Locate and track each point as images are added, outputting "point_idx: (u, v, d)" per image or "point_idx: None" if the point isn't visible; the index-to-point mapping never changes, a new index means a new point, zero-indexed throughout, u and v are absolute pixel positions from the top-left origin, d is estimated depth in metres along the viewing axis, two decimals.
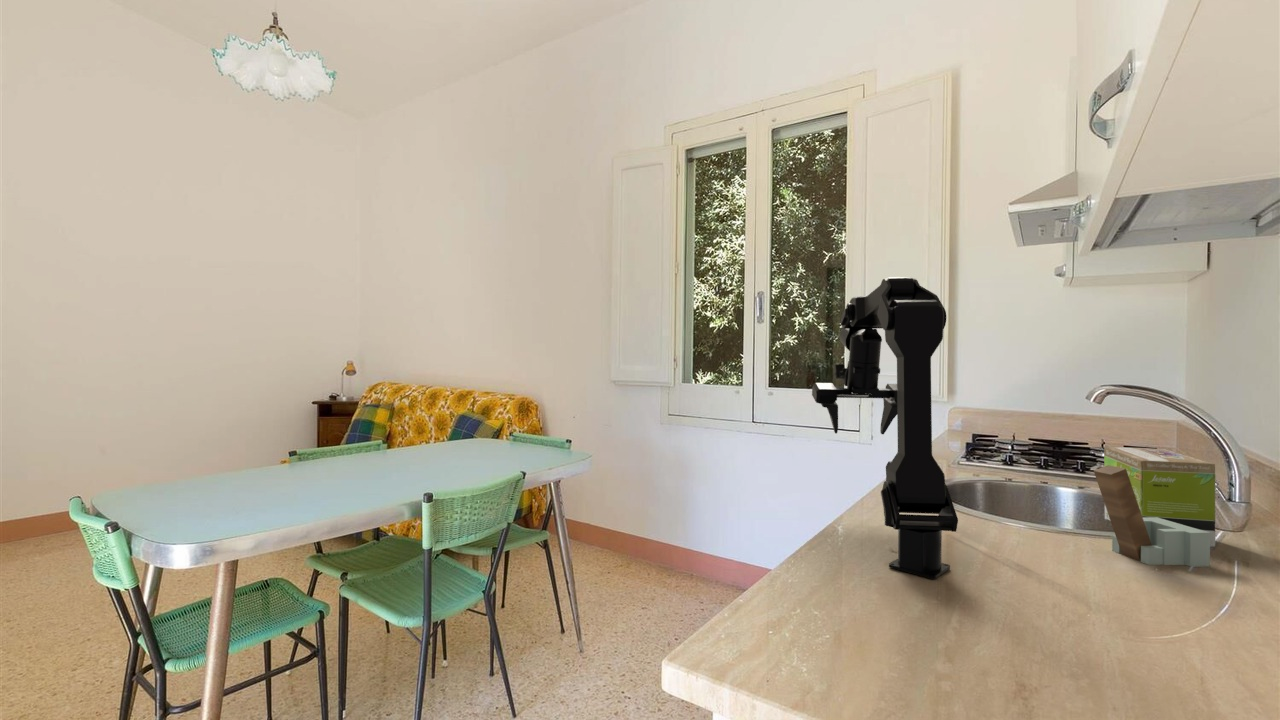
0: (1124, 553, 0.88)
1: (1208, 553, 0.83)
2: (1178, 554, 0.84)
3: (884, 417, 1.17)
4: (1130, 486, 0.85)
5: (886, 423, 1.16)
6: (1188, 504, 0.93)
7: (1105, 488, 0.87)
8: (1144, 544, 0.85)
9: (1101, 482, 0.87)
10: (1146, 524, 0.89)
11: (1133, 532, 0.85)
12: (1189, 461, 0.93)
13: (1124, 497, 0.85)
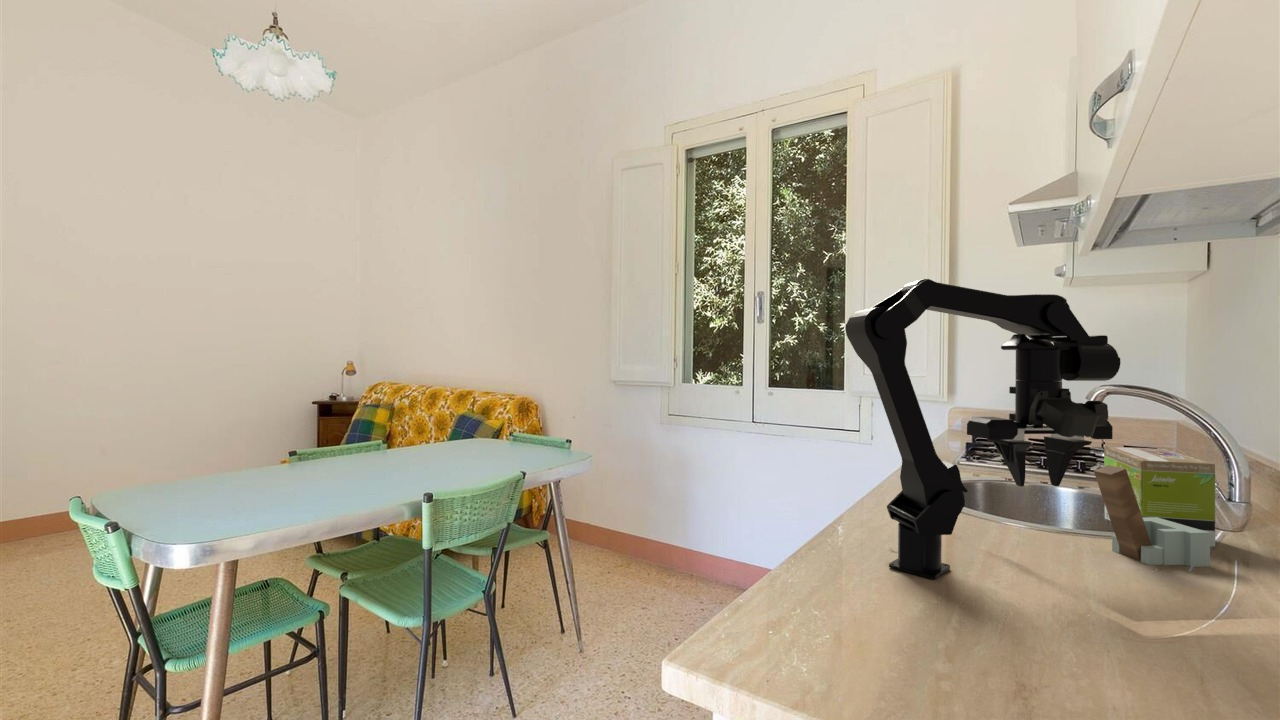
0: (1124, 553, 0.88)
1: (1208, 553, 0.83)
2: (1178, 554, 0.84)
3: None
4: (1130, 486, 0.85)
5: None
6: (1188, 504, 0.93)
7: (1105, 488, 0.87)
8: (1144, 544, 0.85)
9: (1101, 482, 0.87)
10: (1146, 524, 0.89)
11: (1133, 532, 0.85)
12: (1189, 461, 0.93)
13: (1124, 497, 0.85)
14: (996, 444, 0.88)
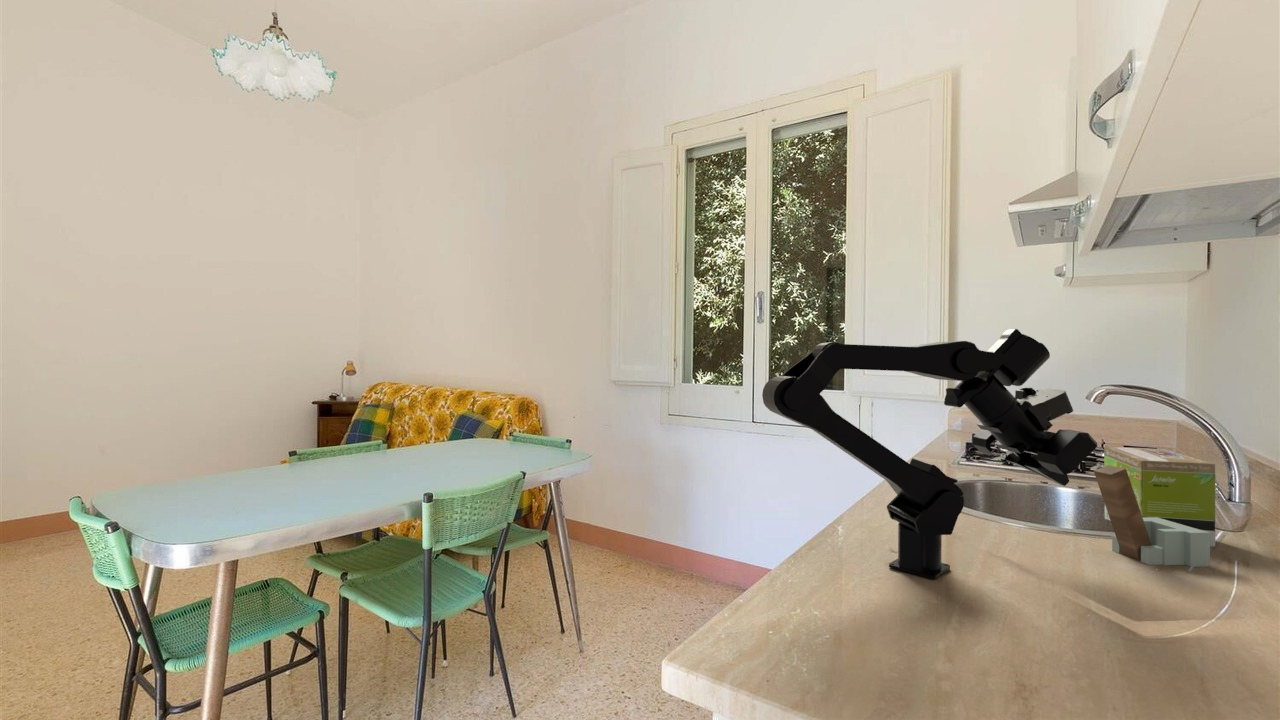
0: (1124, 553, 0.88)
1: (1208, 553, 0.83)
2: (1178, 554, 0.84)
3: None
4: (1130, 486, 0.85)
5: (1047, 477, 0.85)
6: (1188, 504, 0.93)
7: (1105, 488, 0.87)
8: (1144, 544, 0.85)
9: (1101, 482, 0.87)
10: (1146, 524, 0.89)
11: (1133, 532, 0.85)
12: (1189, 461, 0.93)
13: (1124, 497, 0.85)
14: None
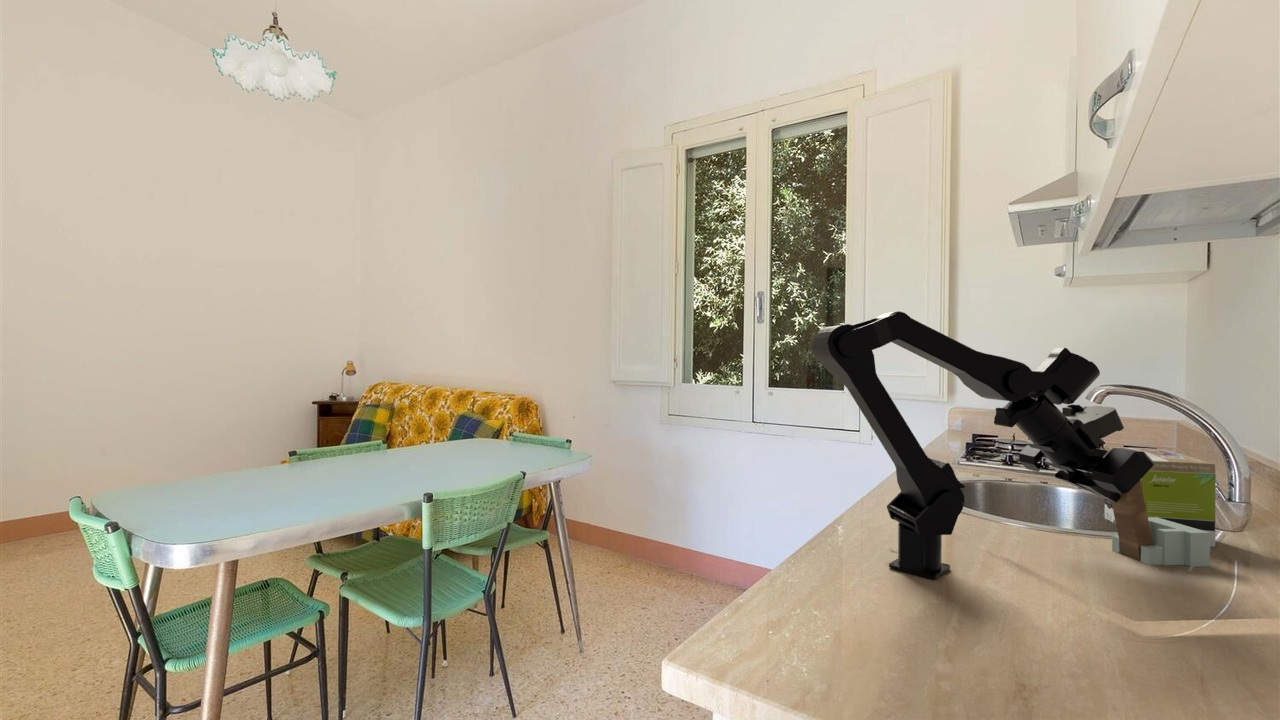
0: (1124, 552, 0.88)
1: (1208, 553, 0.83)
2: (1178, 554, 0.84)
3: None
4: (1139, 484, 0.85)
5: (1099, 494, 0.86)
6: (1188, 504, 0.93)
7: None
8: (1146, 544, 0.85)
9: None
10: None
11: (1137, 530, 0.85)
12: (1189, 461, 0.93)
13: (1132, 494, 0.85)
14: None
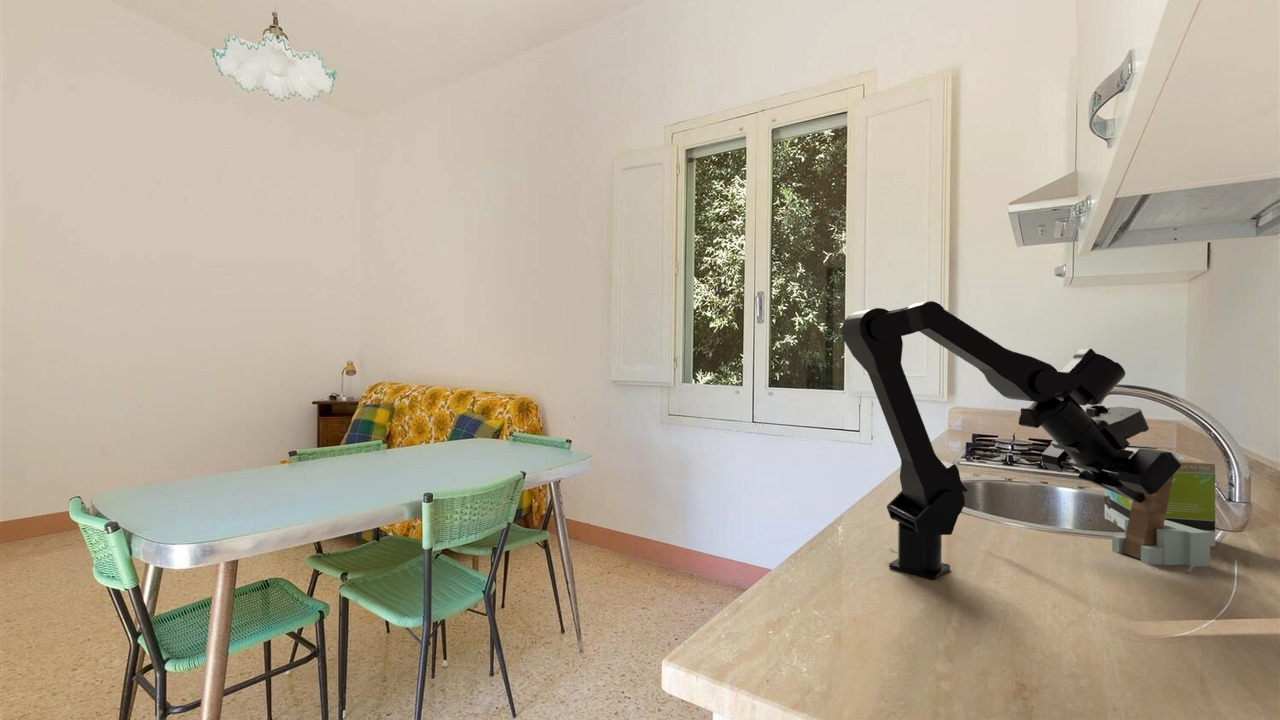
0: (1126, 548, 0.88)
1: (1208, 553, 0.83)
2: (1178, 554, 0.84)
3: None
4: (1169, 486, 0.85)
5: (1124, 495, 0.86)
6: (1188, 504, 0.93)
7: None
8: (1152, 544, 0.85)
9: None
10: None
11: (1150, 527, 0.85)
12: (1189, 461, 0.93)
13: (1159, 493, 0.85)
14: None
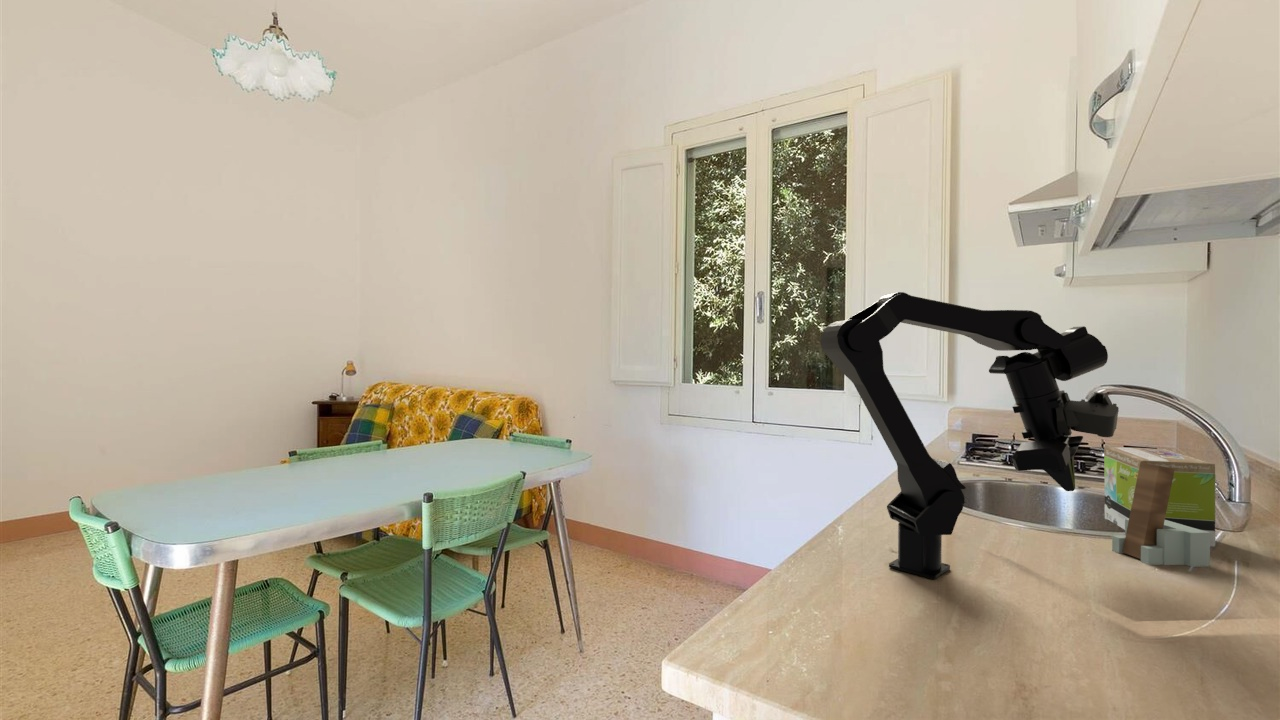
0: (1126, 548, 0.88)
1: (1208, 553, 0.83)
2: (1178, 554, 0.84)
3: None
4: (1169, 486, 0.85)
5: None
6: (1188, 504, 0.93)
7: (1144, 480, 0.87)
8: (1152, 544, 0.85)
9: (1142, 474, 0.87)
10: None
11: (1150, 527, 0.85)
12: (1189, 461, 0.93)
13: (1159, 493, 0.85)
14: None
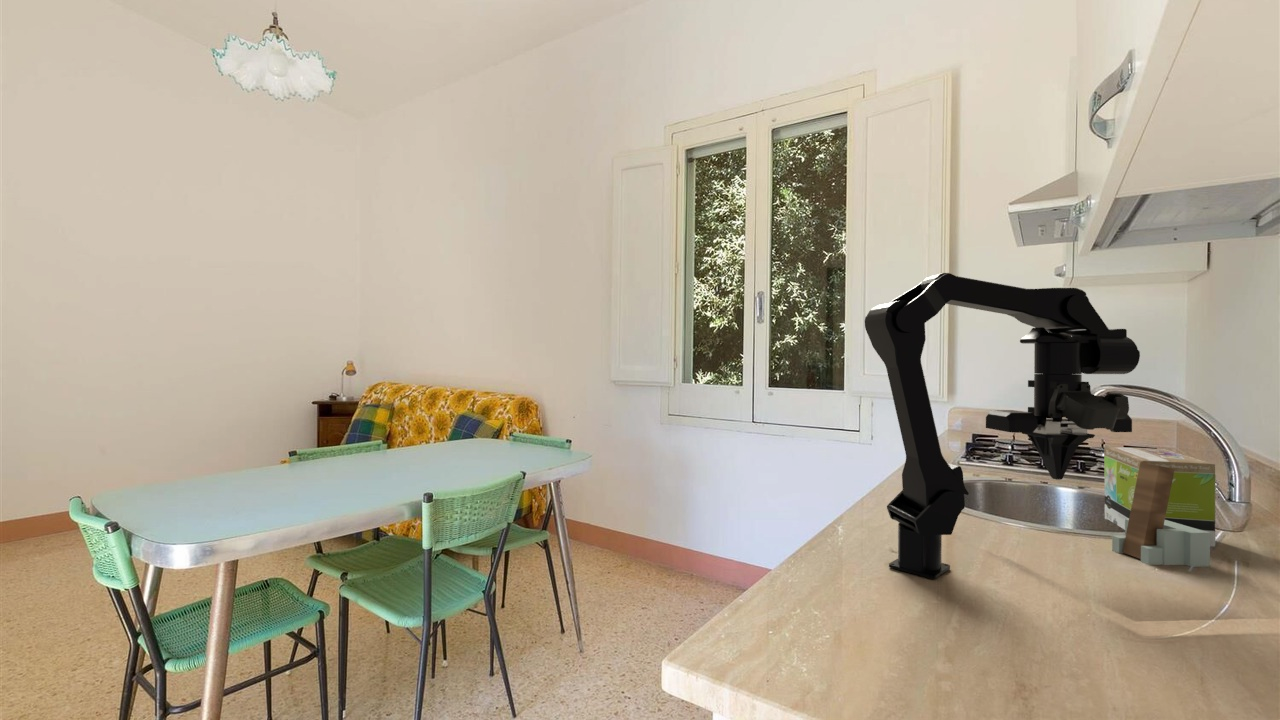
0: (1126, 548, 0.88)
1: (1208, 553, 0.83)
2: (1178, 554, 0.84)
3: None
4: (1169, 486, 0.85)
5: None
6: (1188, 504, 0.93)
7: (1144, 480, 0.87)
8: (1152, 544, 0.85)
9: (1142, 474, 0.87)
10: None
11: (1150, 527, 0.85)
12: (1189, 461, 0.93)
13: (1159, 493, 0.85)
14: (1031, 437, 0.88)
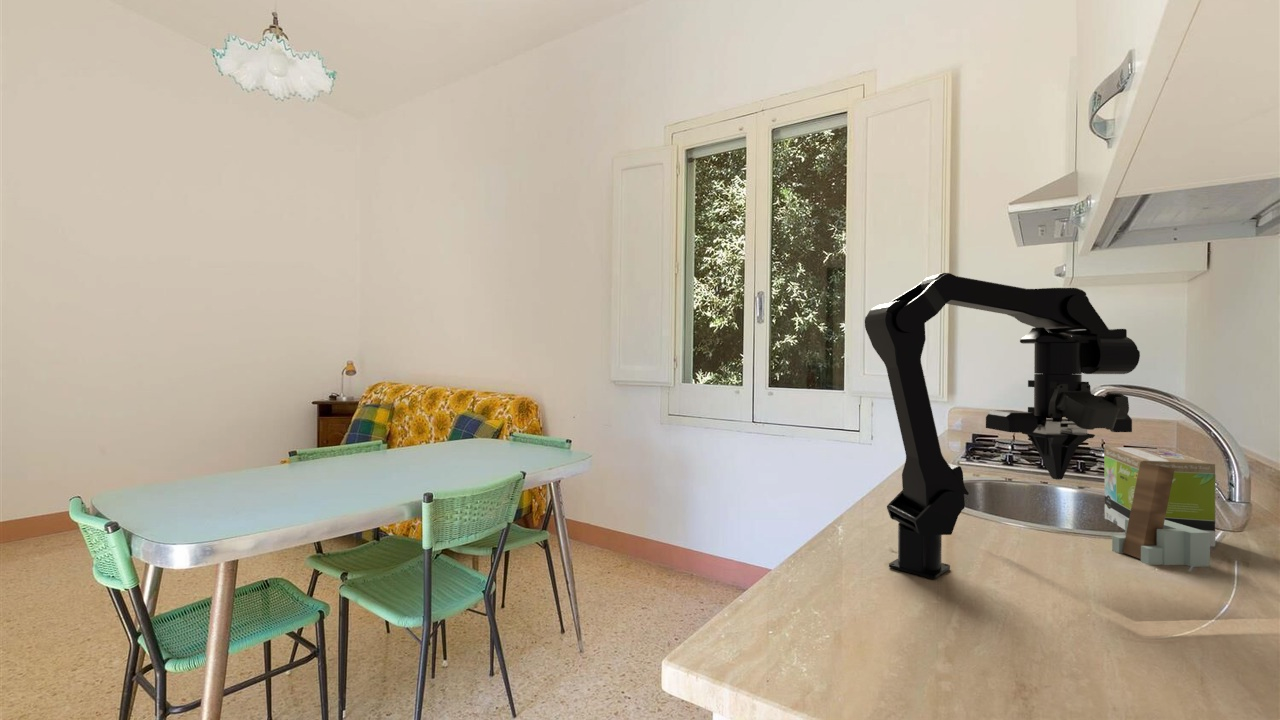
0: (1126, 548, 0.88)
1: (1208, 553, 0.83)
2: (1178, 554, 0.84)
3: None
4: (1169, 486, 0.85)
5: None
6: (1188, 504, 0.93)
7: (1144, 480, 0.87)
8: (1152, 544, 0.85)
9: (1142, 474, 0.87)
10: None
11: (1150, 527, 0.85)
12: (1189, 461, 0.93)
13: (1159, 493, 0.85)
14: (1031, 437, 0.88)
